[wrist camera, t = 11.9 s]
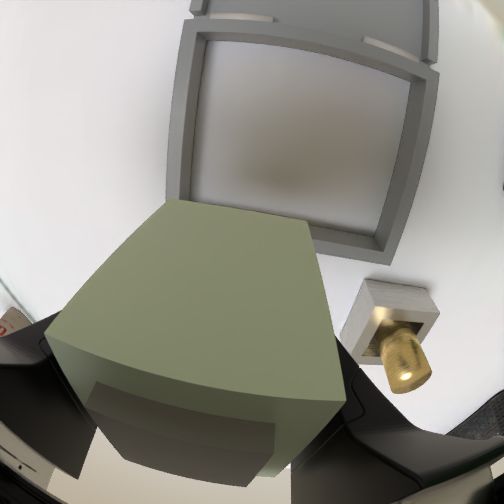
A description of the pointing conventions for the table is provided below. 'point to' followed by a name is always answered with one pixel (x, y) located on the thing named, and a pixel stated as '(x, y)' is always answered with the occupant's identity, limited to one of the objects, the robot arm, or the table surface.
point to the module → (205, 344)
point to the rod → (401, 356)
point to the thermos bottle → (12, 322)
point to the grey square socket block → (385, 316)
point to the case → (333, 44)
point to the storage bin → (483, 421)
